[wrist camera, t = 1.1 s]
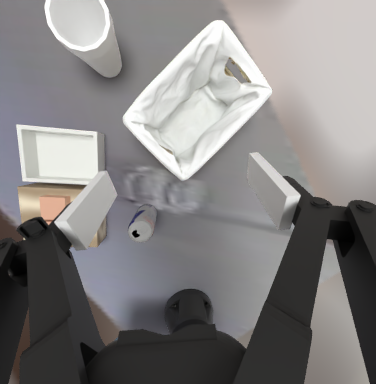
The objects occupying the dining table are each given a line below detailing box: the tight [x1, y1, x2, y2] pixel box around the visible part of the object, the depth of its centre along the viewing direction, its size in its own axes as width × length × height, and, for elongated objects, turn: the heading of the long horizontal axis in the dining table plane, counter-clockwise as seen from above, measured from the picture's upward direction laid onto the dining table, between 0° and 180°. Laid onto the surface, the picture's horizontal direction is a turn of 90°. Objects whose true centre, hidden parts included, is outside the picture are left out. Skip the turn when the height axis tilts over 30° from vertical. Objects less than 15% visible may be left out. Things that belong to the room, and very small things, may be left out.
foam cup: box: [45, 0, 122, 78], centre depth 32 cm, size 10×9×13 cm
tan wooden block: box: [18, 183, 106, 247], centre depth 42 cm, size 14×16×6 cm
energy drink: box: [128, 204, 157, 243], centre depth 41 cm, size 5×5×12 cm
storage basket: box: [123, 20, 272, 181], centre depth 36 cm, size 24×16×15 cm
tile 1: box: [39, 195, 71, 220], centre depth 37 cm, size 5×5×2 cm
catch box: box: [17, 125, 105, 185], centre depth 40 cm, size 12×16×4 cm
